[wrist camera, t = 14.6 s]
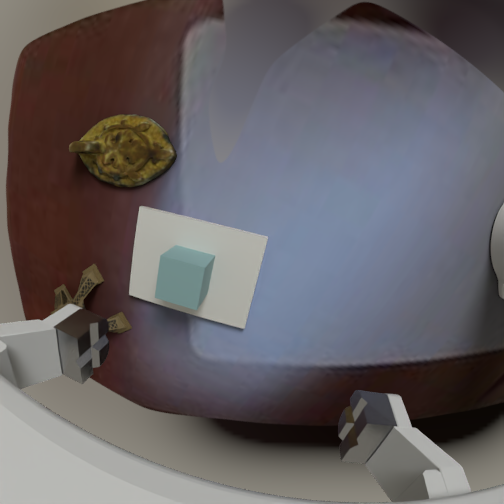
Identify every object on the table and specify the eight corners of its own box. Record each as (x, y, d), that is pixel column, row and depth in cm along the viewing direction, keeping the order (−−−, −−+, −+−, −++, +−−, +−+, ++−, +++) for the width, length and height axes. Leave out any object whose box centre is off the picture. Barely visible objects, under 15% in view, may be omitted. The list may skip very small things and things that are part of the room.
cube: (215, 255, 36) (205, 267, 31) (207, 293, 37) (197, 310, 32) (175, 244, 36) (160, 255, 31) (169, 282, 37) (154, 297, 33)
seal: (186, 118, 34) (88, 119, 35) (174, 106, 30) (69, 111, 31) (174, 191, 36) (77, 183, 37) (160, 189, 31) (57, 182, 32)
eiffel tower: (95, 263, 39) (-42, 344, 15) (132, 327, 41) (27, 444, 17) (55, 289, 41) (-60, 363, 17) (88, 345, 43) (-7, 441, 19)
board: (268, 236, 36) (267, 238, 35) (245, 326, 39) (244, 328, 38) (142, 205, 36) (139, 206, 35) (131, 292, 39) (129, 294, 39)
